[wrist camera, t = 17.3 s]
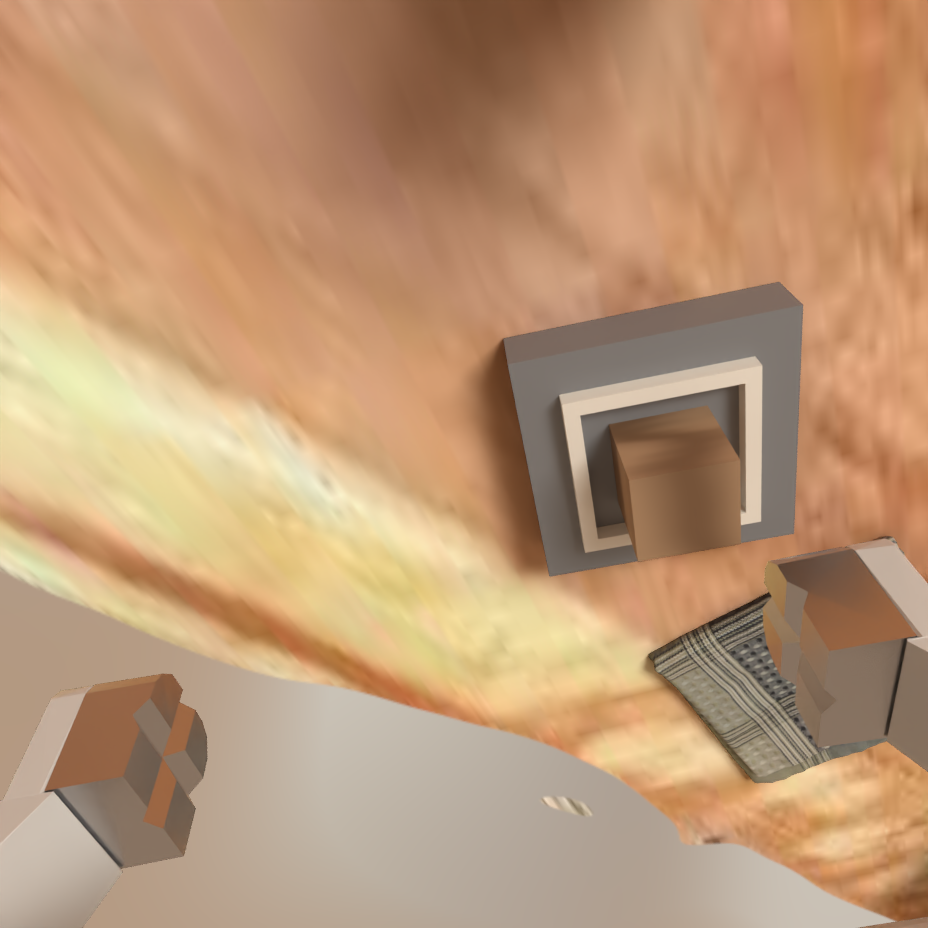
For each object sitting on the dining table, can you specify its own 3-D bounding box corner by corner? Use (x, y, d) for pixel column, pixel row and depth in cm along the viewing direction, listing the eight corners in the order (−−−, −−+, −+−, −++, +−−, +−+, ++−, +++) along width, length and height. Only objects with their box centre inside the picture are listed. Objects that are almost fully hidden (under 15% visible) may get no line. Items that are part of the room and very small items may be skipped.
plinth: (543, 543, 47) (551, 588, 44) (503, 338, 39) (509, 374, 36) (774, 502, 46) (800, 544, 42) (779, 281, 38) (811, 313, 35)
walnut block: (617, 501, 42) (637, 562, 38) (608, 424, 39) (629, 480, 35) (710, 484, 41) (741, 543, 37) (707, 405, 38) (740, 459, 34)
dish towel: (637, 647, 53) (648, 684, 51) (887, 522, 48) (914, 555, 45) (751, 773, 62) (766, 810, 59) (975, 679, 56) (1002, 715, 54)
